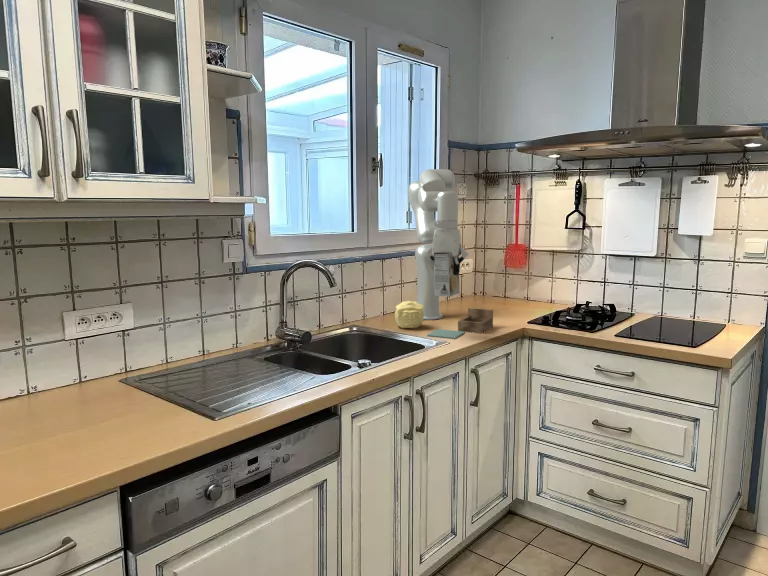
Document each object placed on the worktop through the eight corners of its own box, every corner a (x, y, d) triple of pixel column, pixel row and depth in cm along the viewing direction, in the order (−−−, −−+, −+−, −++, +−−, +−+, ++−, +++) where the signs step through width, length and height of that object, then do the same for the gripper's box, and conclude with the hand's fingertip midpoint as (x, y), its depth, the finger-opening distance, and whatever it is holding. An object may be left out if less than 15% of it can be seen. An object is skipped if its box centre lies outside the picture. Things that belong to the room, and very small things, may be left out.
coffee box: (444, 292, 214) (443, 250, 212) (459, 293, 211) (459, 250, 209) (434, 296, 206) (433, 252, 204) (450, 296, 203) (449, 252, 201)
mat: (427, 336, 209) (427, 334, 209) (437, 330, 218) (437, 329, 218) (455, 339, 204) (455, 337, 204) (464, 333, 213) (464, 331, 213)
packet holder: (457, 331, 217) (458, 313, 216) (468, 324, 228) (468, 307, 227) (483, 333, 212) (483, 315, 211) (492, 327, 224) (493, 309, 223)
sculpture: (395, 330, 218) (395, 303, 217) (394, 324, 230) (394, 298, 229) (425, 330, 219) (425, 303, 217) (421, 323, 231) (422, 298, 229)
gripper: (421, 225, 206) (421, 274, 208) (466, 226, 198) (466, 276, 201) (429, 225, 212) (429, 272, 215) (473, 225, 205) (472, 274, 207)
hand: (446, 273), depth 208 cm, fingers closed on coffee box, 6 cm apart
